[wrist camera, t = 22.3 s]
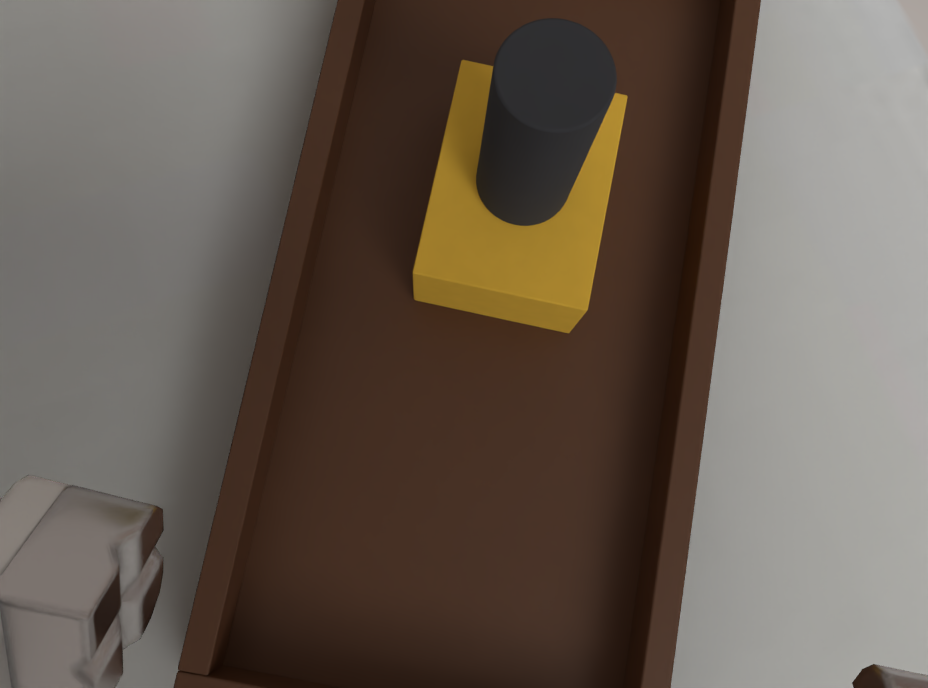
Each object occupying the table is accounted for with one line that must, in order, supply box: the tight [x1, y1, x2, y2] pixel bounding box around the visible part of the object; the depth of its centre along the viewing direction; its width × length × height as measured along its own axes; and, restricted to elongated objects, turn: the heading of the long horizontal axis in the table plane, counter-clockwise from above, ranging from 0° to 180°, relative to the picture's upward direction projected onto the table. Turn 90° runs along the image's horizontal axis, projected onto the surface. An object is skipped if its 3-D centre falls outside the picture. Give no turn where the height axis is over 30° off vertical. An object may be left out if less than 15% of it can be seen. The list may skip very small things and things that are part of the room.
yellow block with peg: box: [413, 18, 628, 333], centre depth 23 cm, size 6×5×9 cm
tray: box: [174, 0, 761, 688], centre depth 26 cm, size 26×13×2 cm, turn 169°
